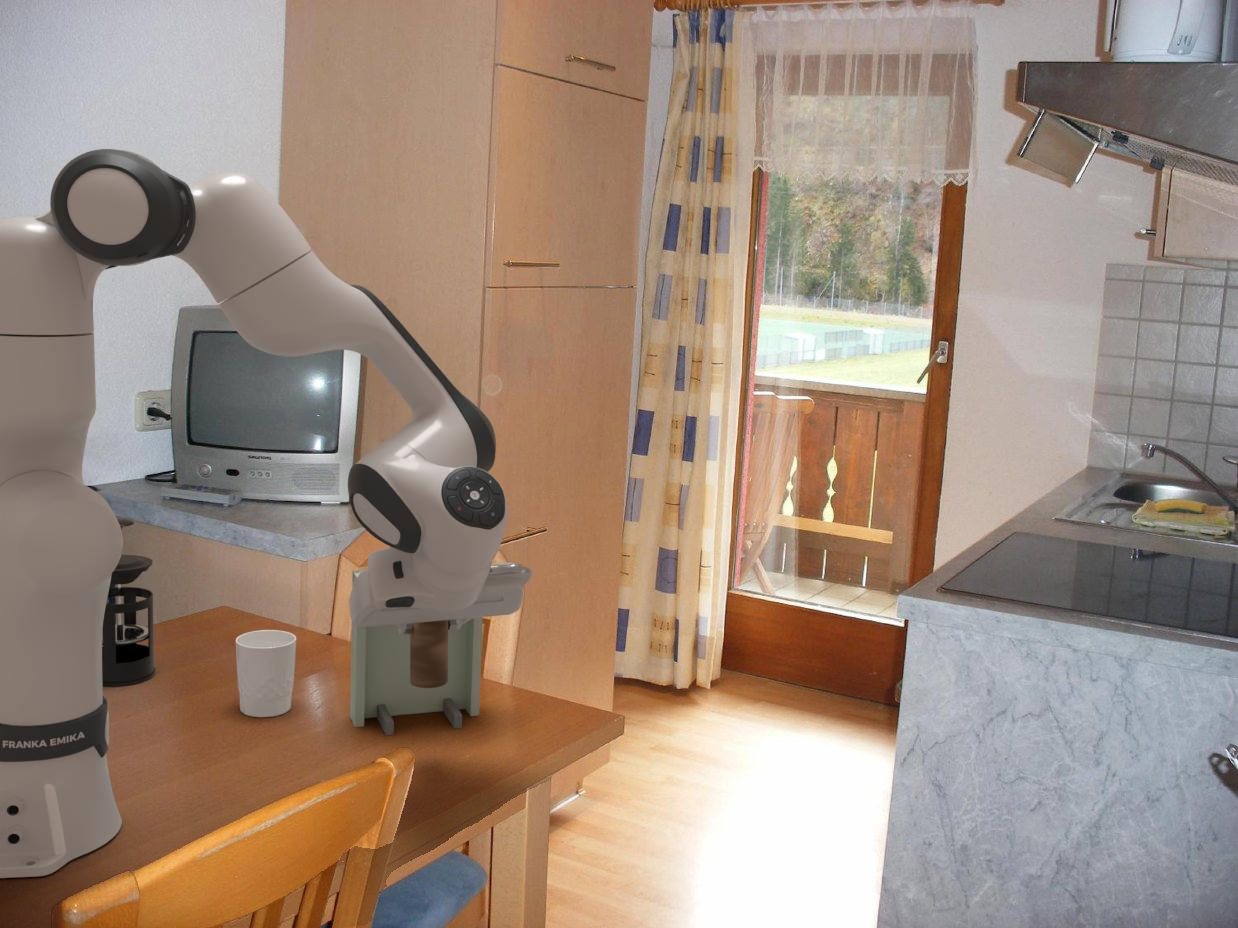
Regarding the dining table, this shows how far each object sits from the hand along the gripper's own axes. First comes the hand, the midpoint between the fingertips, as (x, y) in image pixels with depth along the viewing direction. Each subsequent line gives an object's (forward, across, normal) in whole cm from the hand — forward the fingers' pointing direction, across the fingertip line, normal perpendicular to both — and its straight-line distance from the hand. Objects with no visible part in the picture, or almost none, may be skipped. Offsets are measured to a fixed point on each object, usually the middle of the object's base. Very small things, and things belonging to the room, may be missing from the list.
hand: (428, 626), depth 144 cm
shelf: (+21, -2, +4) cm, 21 cm away
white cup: (+28, +17, -3) cm, 33 cm away
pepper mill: (+4, 0, +5) cm, 7 cm away
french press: (+40, +36, -16) cm, 57 cm away
